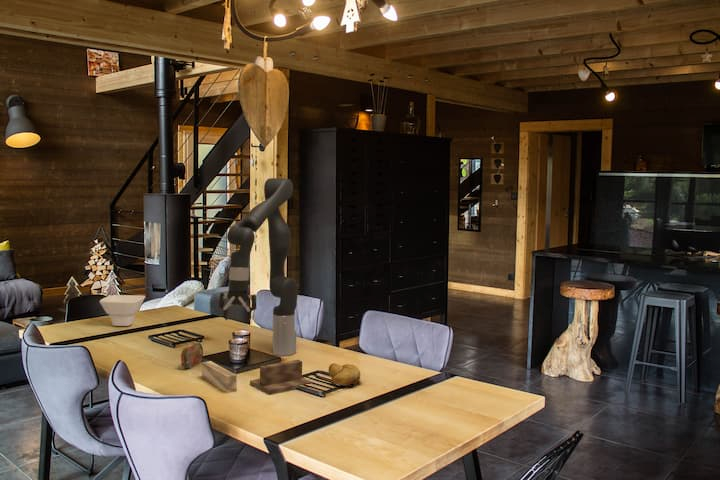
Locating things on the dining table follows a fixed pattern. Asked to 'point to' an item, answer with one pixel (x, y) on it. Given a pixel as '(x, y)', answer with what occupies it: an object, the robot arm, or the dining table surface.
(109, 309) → the bowl
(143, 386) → the dining table surface
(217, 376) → the oak bar
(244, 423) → the dining table surface
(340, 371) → the bread roll
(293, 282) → the robot arm
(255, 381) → the stand
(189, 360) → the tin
